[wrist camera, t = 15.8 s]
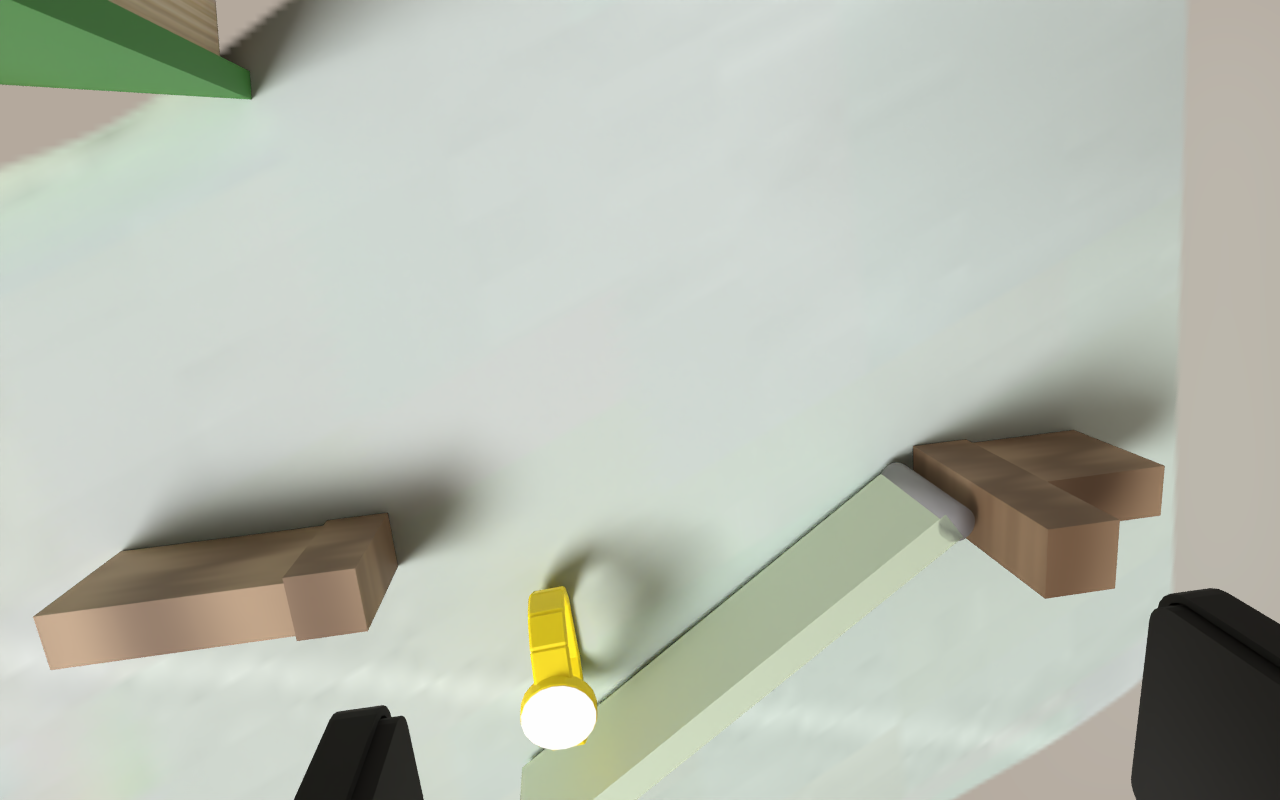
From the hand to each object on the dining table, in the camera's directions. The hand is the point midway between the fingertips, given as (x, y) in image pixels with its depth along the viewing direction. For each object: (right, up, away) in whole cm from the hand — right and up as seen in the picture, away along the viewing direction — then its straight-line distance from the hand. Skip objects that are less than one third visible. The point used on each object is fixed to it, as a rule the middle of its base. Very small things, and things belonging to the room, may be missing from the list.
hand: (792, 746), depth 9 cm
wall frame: (-2, 0, +22) cm, 22 cm away
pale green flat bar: (+2, -6, +23) cm, 24 cm away
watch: (-5, -6, +23) cm, 24 cm away
